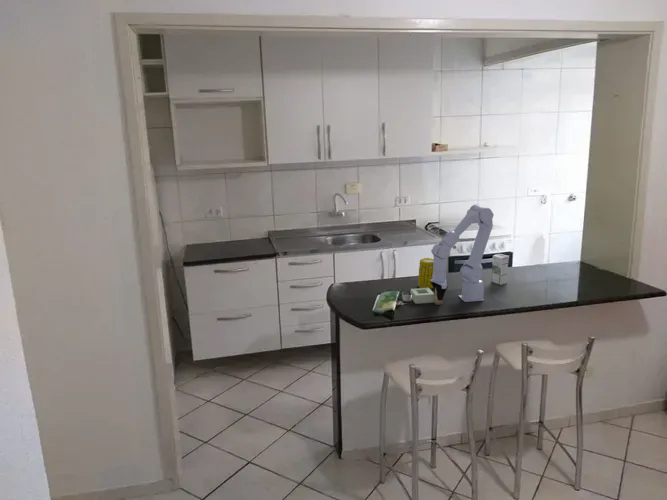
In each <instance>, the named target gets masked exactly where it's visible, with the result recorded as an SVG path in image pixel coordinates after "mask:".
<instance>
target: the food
mask: <svg viewBox="0 0 667 500" xmlns="http://www.w3.org/2000/svg"><path fill="white" fill-rule="evenodd" d="M433 264H434V258H432V257H431V258H429V257H424V258H421V259H420V260H419V266H418V267H419V268H418V280H417V283H418V284H417V286H418V288H430V290H433V286H432V284H431V281H430V280H431V279H432V275H433Z"/></svg>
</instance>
